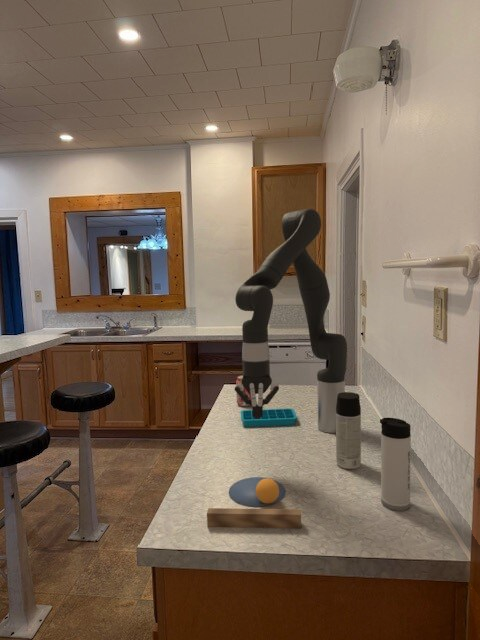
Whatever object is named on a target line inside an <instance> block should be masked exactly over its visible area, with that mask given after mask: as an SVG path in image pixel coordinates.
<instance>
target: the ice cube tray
mask: <svg viewBox="0 0 480 640" xmlns="http://www.w3.org/2000/svg"><path fill="white" fill-rule="evenodd" d="M297 419H298V416H297V414H296V411H295V410H294V408H268V409H267V408H266V409H265V408H263V416H262V417H261V418H260V419H255V417H253V412H252V409H242V410H241V411H240V422H241V421H242V422H243V427H246V428H249V427H250V428H251V427H274V426H276V427H279V426H292V425H296V420H297Z"/></svg>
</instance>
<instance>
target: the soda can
mask: <svg viewBox="0 0 480 640" xmlns="http://www.w3.org/2000/svg"><path fill="white" fill-rule="evenodd" d="M236 378H237V379H236V384H235V386H236V385H239V384H240V383H241V380H242V378H243V374H242V375H238V376H237V377H236ZM243 388H244V390H243V391H244V392H245V393H246V395H247V396H248V397H249V398H250V399H251V394H250V393H249V392H248V391H247V390H246V388H245V387H244V386H243ZM235 393H236V404H237V405H238V406H240V407H242V408H243V407H244V408H245V407H246V408H247V407H250V406H251V405H250V404H246V403H245V402H244V401H243V400H242V398H241V397H240V396H239V395H238V394H237V392H236V391H235Z"/></svg>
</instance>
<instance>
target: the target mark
mask: <svg viewBox="0 0 480 640" xmlns="http://www.w3.org/2000/svg"><path fill="white" fill-rule="evenodd" d="M266 478H268V477H263V476H262V477H261V476H257V477H256V476H253V477H251V476H250V477H247V478H242V479H240V480H237V481H236V482H234V483H233V484H232V485H230V487H229V489H228V495H229V498H230V499H231V500H232V501H233V502H235V503H237V504H239V505H242V506H244V507H245V506H246V507H250V508H251V507H255V508H257V507H258V508H260V507H267V506H271V505H274V504H277V503H278V502H280V501H282V499H284V497H285V496H286V495H285V494H286V488H285V487H284V485H283V484H282V483H281V482H279V481H278V480H275V479H274V478H273V479H272V478H268V479H272V480H274V481H275V482H276V483H277V485H278V487H279V495H278V498H277V499H276V500H275V501H274V502H272V503H269V504H266V503H263V502H261V501H260V500H259V499H258V497H257V495H256V486H257V484H258V483H259V482H260V481H261V480H262V479H266Z"/></svg>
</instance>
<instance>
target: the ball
mask: <svg viewBox="0 0 480 640" xmlns="http://www.w3.org/2000/svg"><path fill="white" fill-rule="evenodd" d="M265 478H266V479H262V480H261V481H260V482H259V483H258V484H257V486H256V495H257V497H258V499H259V500H260V501H261V502H263V503H266V504H269V503H272V502H274V501H275V500H276V499H277V498H278V495H279V487H278V485H277V483H276V482H275V481H274V480H275V479H273V480H272V478H270V479H268V477H265Z"/></svg>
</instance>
